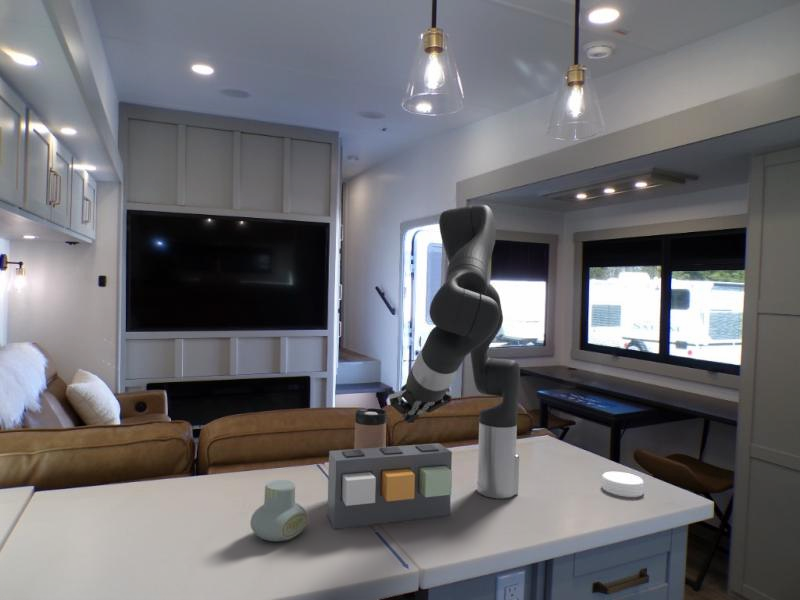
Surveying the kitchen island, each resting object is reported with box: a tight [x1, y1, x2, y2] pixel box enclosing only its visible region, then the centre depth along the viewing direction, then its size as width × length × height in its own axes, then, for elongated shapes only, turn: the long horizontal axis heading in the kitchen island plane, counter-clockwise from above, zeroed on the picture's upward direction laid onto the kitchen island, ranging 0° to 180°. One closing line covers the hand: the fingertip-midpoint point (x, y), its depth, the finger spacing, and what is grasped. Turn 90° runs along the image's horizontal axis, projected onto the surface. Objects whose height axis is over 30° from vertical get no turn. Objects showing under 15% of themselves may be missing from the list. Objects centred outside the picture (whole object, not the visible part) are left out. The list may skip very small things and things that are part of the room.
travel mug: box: [353, 408, 387, 449], centre depth 124 cm, size 8×8×20 cm
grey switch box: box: [326, 443, 453, 530], centre depth 112 cm, size 26×7×14 cm, turn 109°
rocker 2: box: [418, 465, 453, 497], centre depth 112 cm, size 6×7×5 cm
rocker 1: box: [341, 471, 376, 506], centre depth 106 cm, size 6×7×5 cm
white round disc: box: [601, 471, 645, 498], centre depth 132 cm, size 10×10×4 cm
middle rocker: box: [380, 468, 415, 501], centre depth 109 cm, size 6×7×5 cm
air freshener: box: [249, 479, 308, 542], centre depth 102 cm, size 11×8×10 cm
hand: (408, 418), depth 103 cm, fingers closed
